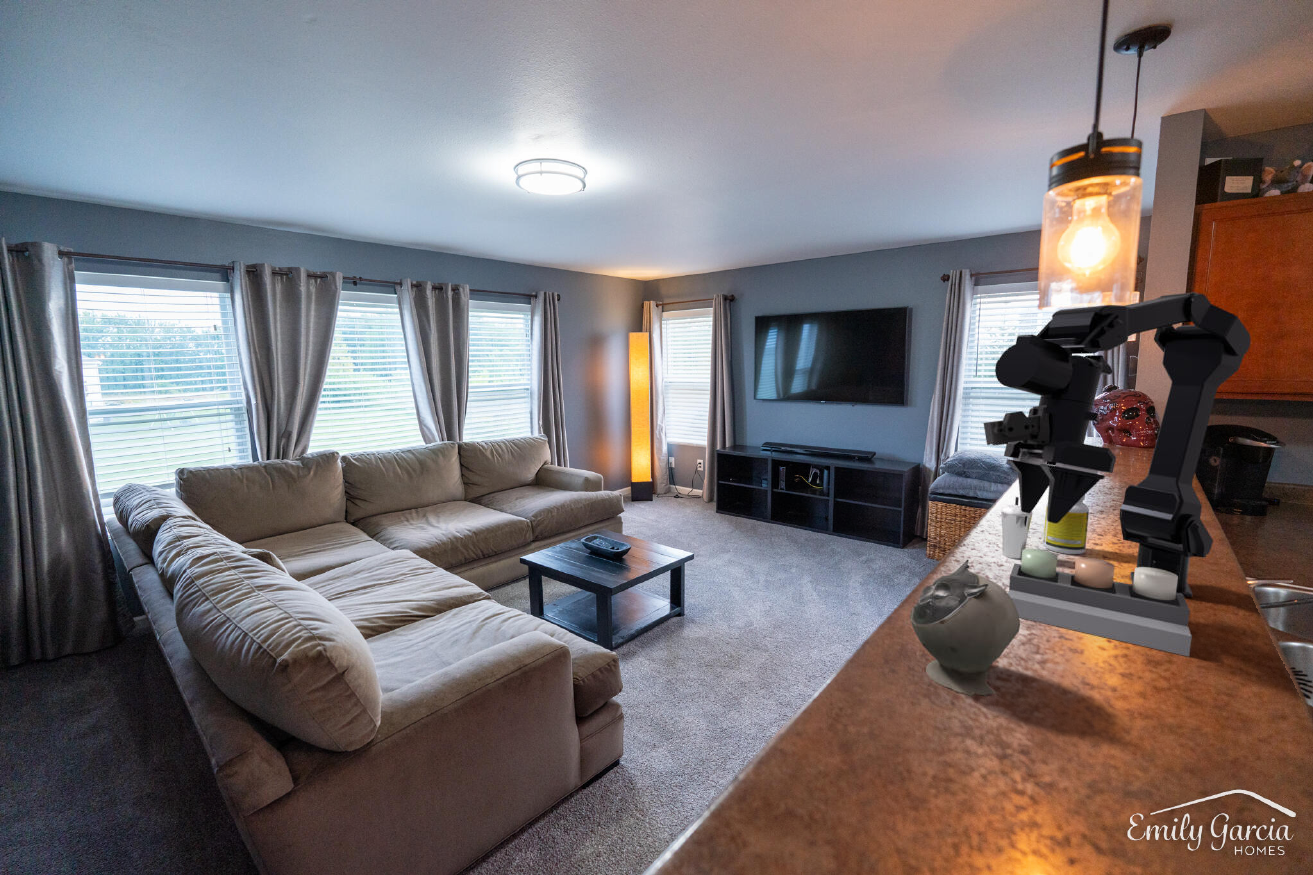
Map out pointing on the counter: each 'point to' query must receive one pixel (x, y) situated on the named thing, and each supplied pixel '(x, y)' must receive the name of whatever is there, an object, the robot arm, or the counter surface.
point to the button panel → (1102, 610)
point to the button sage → (1039, 563)
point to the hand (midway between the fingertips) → (1038, 517)
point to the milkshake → (1014, 530)
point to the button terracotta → (1094, 572)
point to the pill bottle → (1068, 531)
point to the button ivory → (1155, 583)
